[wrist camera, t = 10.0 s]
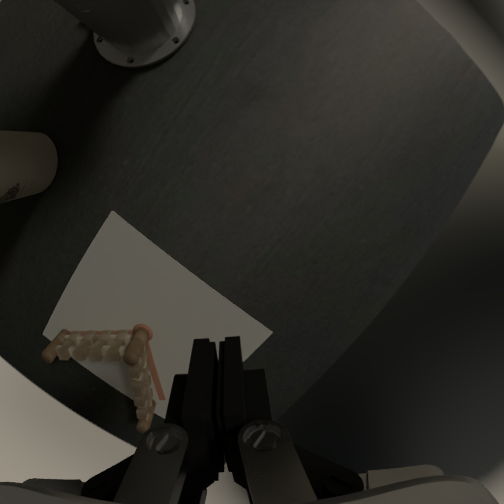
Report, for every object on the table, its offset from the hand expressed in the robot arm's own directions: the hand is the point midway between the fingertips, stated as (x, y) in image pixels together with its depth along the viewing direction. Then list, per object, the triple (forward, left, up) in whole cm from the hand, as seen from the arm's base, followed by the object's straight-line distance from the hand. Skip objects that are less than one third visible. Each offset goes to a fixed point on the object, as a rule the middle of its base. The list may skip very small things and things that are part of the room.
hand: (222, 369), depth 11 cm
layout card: (+1, -19, -27) cm, 33 cm away
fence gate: (+4, -24, -26) cm, 36 cm away
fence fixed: (-4, -23, -27) cm, 35 cm away
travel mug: (-25, -9, -27) cm, 38 cm away
